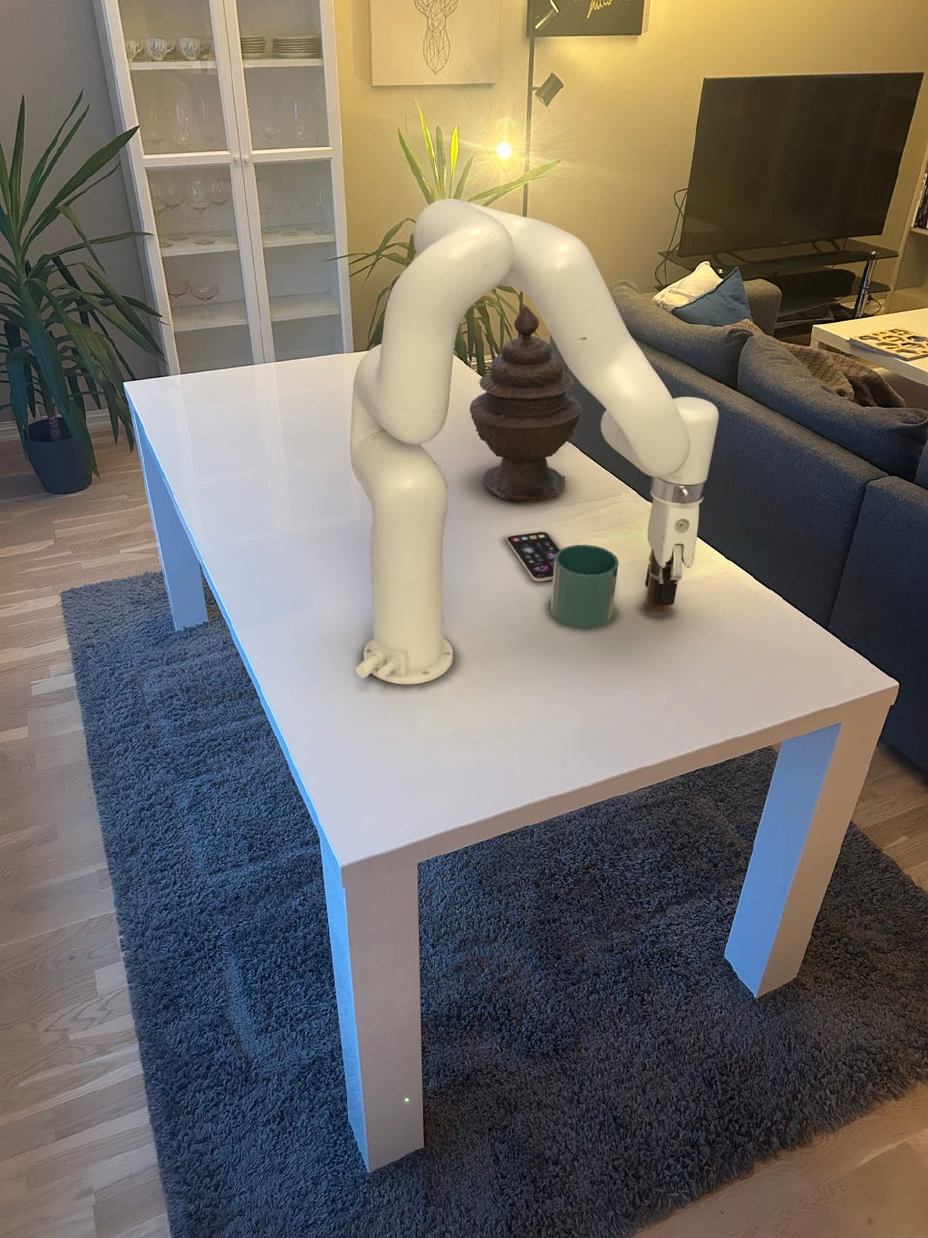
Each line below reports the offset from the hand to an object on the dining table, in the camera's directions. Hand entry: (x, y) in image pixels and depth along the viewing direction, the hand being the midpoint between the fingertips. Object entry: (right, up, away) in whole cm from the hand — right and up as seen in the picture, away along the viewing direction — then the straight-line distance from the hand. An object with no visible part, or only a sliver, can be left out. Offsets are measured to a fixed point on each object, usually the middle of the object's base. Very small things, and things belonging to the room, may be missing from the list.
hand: (659, 594), depth 145 cm
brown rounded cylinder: (0, -2, +1) cm, 2 cm away
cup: (-12, -3, +1) cm, 12 cm away
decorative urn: (-19, +21, +37) cm, 47 cm away
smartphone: (-17, +6, +15) cm, 23 cm away
